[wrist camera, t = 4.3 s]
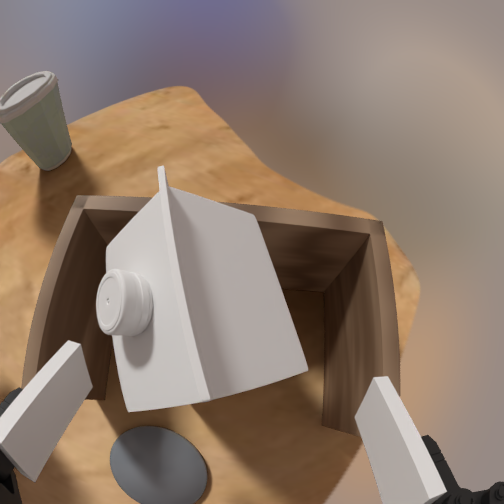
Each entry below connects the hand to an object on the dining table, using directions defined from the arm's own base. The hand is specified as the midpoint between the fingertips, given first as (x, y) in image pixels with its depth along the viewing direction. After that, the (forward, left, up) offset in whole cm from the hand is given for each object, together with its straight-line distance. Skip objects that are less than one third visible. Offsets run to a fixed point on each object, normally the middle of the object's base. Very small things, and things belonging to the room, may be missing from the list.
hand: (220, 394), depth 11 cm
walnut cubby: (-1, +4, -13) cm, 14 cm away
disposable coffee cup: (-32, +28, -13) cm, 44 cm away
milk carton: (-1, +3, -13) cm, 14 cm away
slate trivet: (-6, -9, -13) cm, 17 cm away
